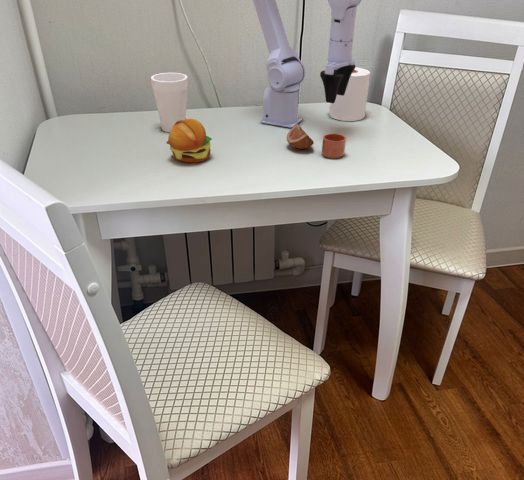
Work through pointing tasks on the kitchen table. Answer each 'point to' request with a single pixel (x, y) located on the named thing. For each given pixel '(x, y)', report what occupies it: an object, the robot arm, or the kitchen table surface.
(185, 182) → the kitchen table surface
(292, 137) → the fruit slice
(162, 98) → the foam cup
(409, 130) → the kitchen table surface
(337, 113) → the toilet paper
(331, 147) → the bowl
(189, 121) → the cheeseburger
